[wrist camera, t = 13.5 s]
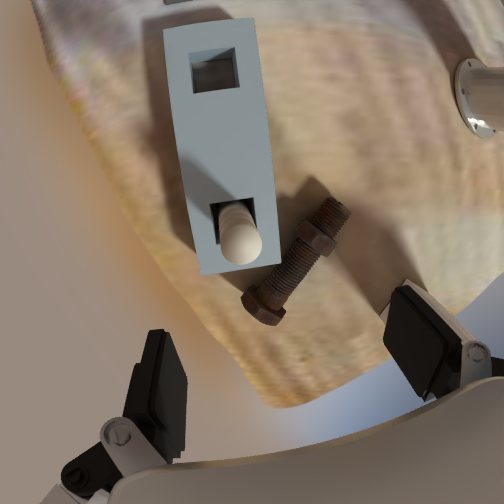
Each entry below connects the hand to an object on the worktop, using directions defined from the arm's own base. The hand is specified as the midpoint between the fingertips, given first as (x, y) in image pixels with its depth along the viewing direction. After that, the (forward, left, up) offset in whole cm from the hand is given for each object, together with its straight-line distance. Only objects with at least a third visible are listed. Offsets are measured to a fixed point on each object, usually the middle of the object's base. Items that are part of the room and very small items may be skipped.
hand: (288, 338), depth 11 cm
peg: (+1, 0, -21) cm, 21 cm away
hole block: (+1, -7, -21) cm, 22 cm away
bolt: (-5, +6, -21) cm, 23 cm away
